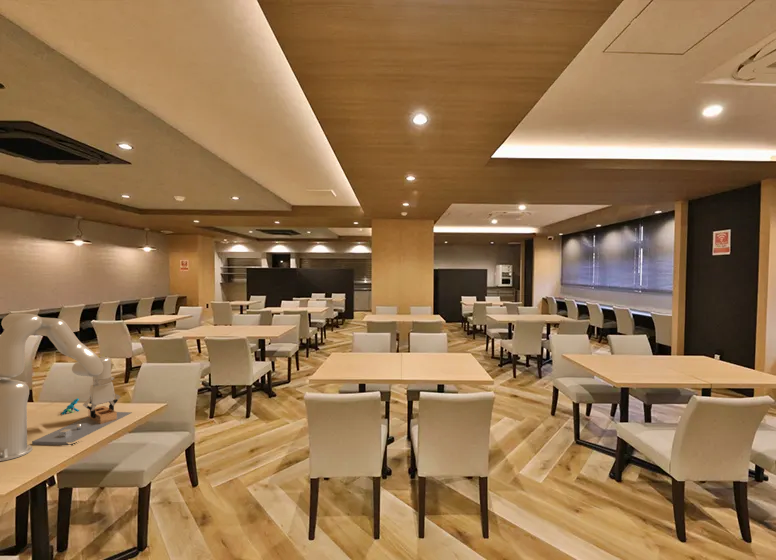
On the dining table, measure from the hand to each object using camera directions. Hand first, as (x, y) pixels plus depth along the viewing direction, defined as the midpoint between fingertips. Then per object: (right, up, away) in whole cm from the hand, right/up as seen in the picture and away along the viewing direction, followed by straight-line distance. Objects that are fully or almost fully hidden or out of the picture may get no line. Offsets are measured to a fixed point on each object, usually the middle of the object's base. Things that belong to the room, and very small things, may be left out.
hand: (102, 414), depth 191 cm
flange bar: (0, -2, 0) cm, 2 cm away
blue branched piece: (-26, -3, +11) cm, 28 cm away
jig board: (0, -3, -9) cm, 10 cm away
